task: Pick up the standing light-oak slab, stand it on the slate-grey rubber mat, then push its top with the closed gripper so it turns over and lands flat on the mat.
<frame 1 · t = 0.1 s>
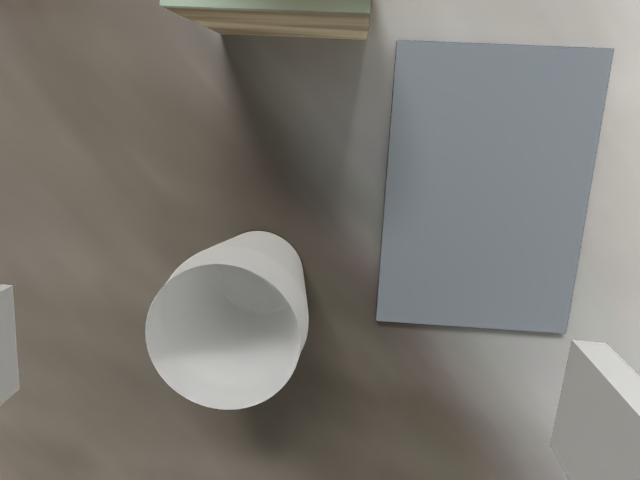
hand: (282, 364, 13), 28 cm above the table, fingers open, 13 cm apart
mat: (484, 193, 39), on the table
white tapered cylinder: (260, 272, 42), on the table
slab: (294, 5, 37), on the table
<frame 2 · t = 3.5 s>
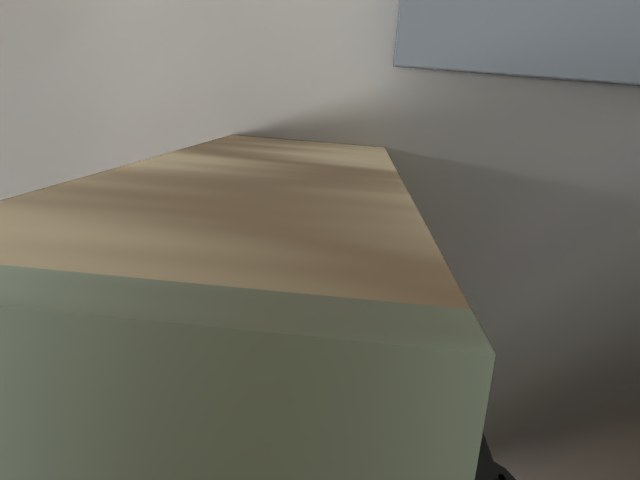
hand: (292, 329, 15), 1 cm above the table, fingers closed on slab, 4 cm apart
slab: (295, 319, 16), on the table, touching gripper
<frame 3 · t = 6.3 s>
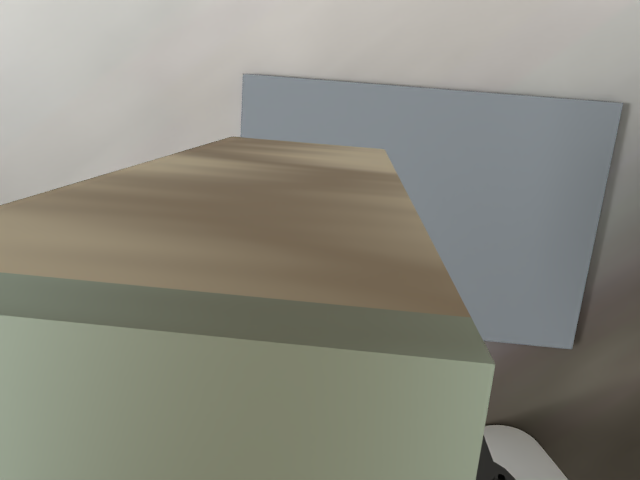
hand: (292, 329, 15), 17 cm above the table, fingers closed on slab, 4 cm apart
mat: (413, 215, 32), on the table
white tapered cylinder: (492, 467, 35), on the table
slab: (295, 320, 16), point 17 cm above the table, touching gripper
when the fingers open (2 cm above the table, at t = 9.2 s): slab stays where it is, resting on mat.
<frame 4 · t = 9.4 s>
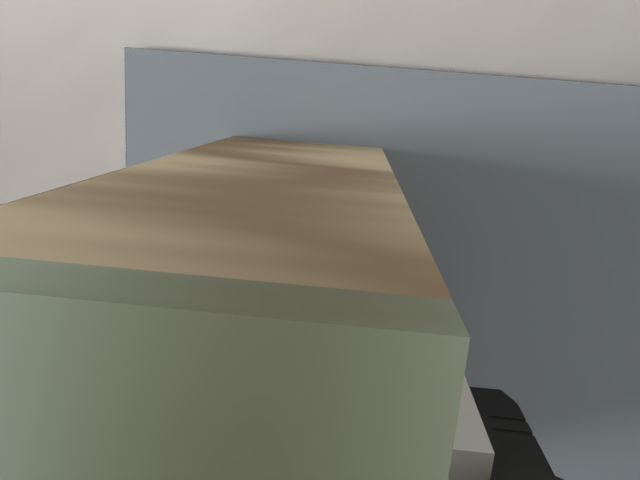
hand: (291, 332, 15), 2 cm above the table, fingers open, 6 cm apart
mat: (467, 323, 16), on the table
slab: (294, 316, 16), point 1 cm above the table, touching mat
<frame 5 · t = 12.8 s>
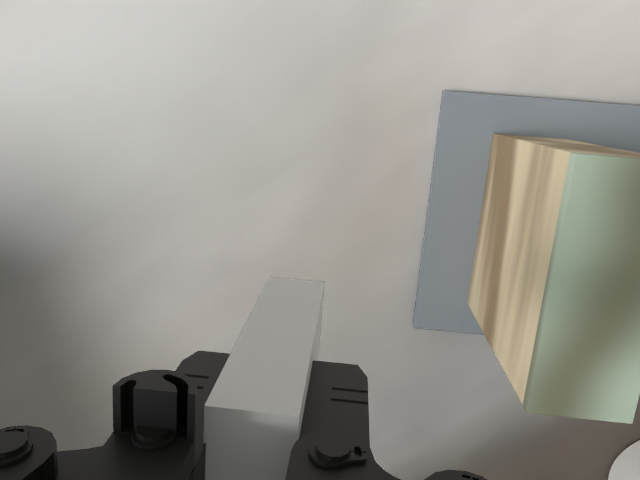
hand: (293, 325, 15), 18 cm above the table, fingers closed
mat: (600, 228, 32), on the table
slab: (514, 224, 32), point 1 cm above the table, touching mat
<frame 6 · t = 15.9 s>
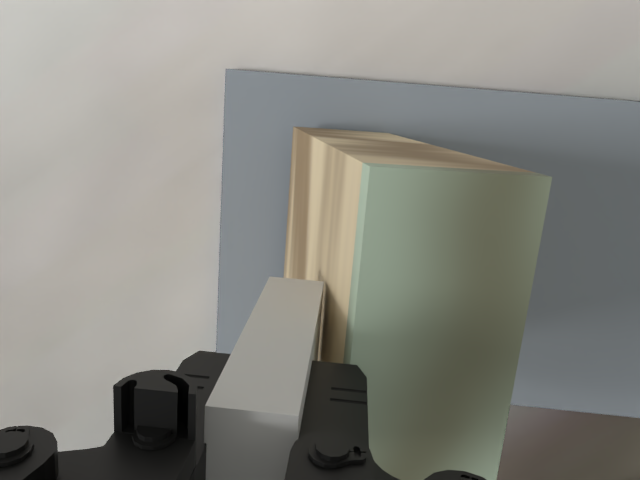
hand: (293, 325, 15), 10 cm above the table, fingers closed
mat: (443, 249, 25), on the table
slab: (331, 246, 24), point 1 cm above the table, tilted 14°, touching gripper, mat
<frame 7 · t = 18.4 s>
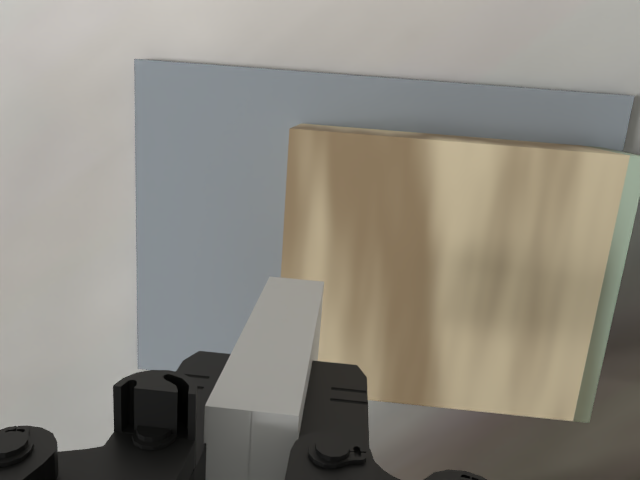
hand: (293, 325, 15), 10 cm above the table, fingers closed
mat: (362, 241, 24), on the table
slab: (288, 252, 22), point 3 cm above the table, tilted 90°, touching mat
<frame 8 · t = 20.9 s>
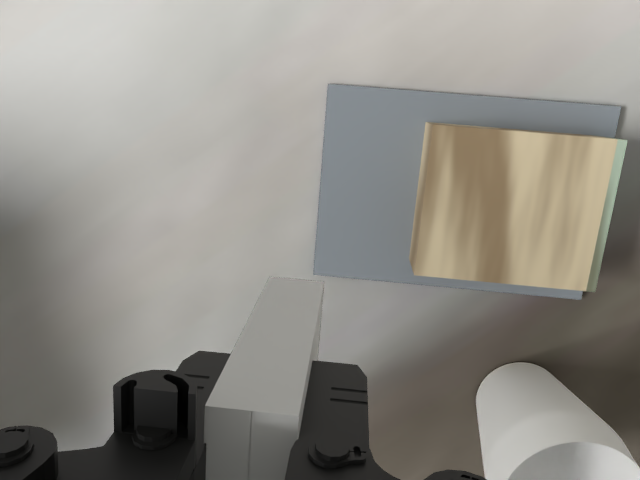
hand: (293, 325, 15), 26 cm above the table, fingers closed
mat: (457, 193, 40), on the table
white tapered cylinder: (517, 397, 44), on the table
slab: (420, 197, 38), point 3 cm above the table, tilted 90°, touching mat
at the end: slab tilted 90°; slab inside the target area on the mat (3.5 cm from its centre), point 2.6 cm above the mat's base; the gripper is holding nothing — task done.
